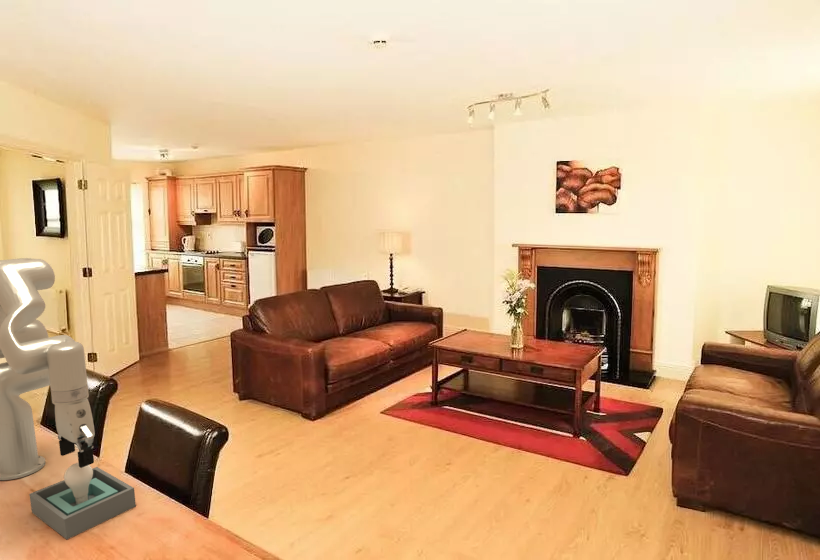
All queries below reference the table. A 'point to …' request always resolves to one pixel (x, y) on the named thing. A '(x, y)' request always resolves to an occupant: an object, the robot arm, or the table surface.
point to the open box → (82, 504)
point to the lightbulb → (79, 481)
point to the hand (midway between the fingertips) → (77, 459)
